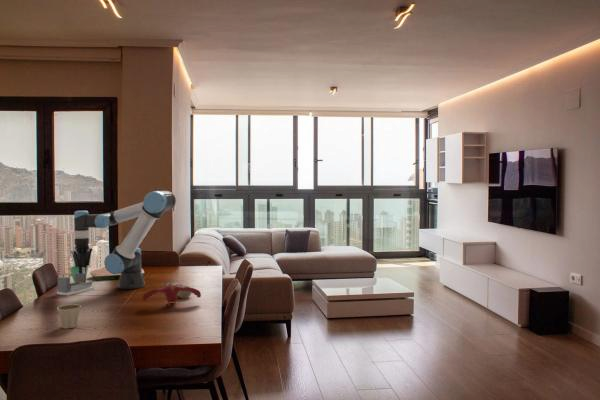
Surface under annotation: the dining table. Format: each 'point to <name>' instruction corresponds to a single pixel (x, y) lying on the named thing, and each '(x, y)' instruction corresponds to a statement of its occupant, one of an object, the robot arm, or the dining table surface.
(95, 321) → the dining table surface
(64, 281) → the gauge housing
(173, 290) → the decorative bird sculpture
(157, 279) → the dining table surface
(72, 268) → the mug
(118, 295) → the dining table surface
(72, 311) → the flower pot
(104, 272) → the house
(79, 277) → the purple-grey block
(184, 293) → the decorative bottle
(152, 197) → the robot arm
